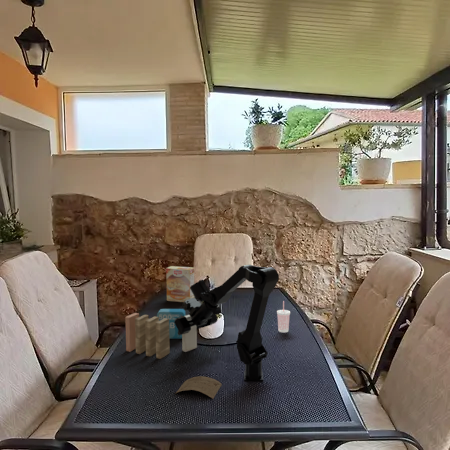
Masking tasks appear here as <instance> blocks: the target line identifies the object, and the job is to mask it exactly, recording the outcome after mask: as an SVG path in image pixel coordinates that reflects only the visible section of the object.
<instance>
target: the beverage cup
mask: <svg viewBox="0 0 450 450" xmlns="http://www.w3.org/2000/svg"><path fill="white" fill-rule="evenodd" d="M276 314H277V315H276V316H277V329H278V332H279V333H288V332H289V327H290V315H291V311H290V310H288V309H285V301H284V300H283V301H282V309H278V310H276Z"/></svg>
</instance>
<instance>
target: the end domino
mask: <svg viewBox="0 0 450 450" xmlns="http://www.w3.org/2000/svg"><path fill="white" fill-rule="evenodd" d="M138 317H140V313H139V312H138V313H137V312H134V313H131V314H129V315H127V316H125V318H124V319H125V320H124V321H125V323H124V324H125V345H126V346H125V348H126V349H125V350H126V352H130V353H131V352H132V351H134V350H136V336H135V319H136V318H138Z"/></svg>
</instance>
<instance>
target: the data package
mask: <svg viewBox="0 0 450 450" xmlns="http://www.w3.org/2000/svg"><path fill="white" fill-rule="evenodd" d="M186 315H187V314H186V310H185V309H184V308H160V309H159V310H158V312H157V314H156V317H159V321H160V320H162V319H164V318H167V319H169V340H170V339H174V340H175V339H177V340H179V339H180V340H182V335H178V329H177V327H176V325H175V323H174V321H175V320H176V318H179V317H182V316H186Z"/></svg>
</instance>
